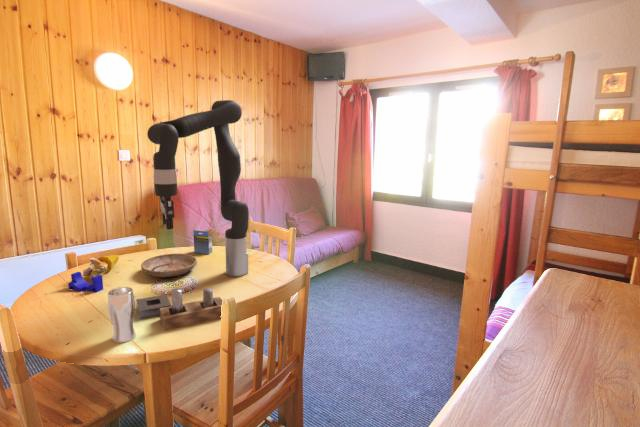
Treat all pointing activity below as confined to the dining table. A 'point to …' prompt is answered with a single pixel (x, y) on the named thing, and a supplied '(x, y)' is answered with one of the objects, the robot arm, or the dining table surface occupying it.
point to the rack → (192, 311)
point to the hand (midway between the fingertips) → (167, 226)
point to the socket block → (151, 306)
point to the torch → (100, 265)
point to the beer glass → (122, 313)
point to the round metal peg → (177, 301)
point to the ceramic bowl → (169, 265)
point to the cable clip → (85, 283)
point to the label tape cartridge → (202, 242)
